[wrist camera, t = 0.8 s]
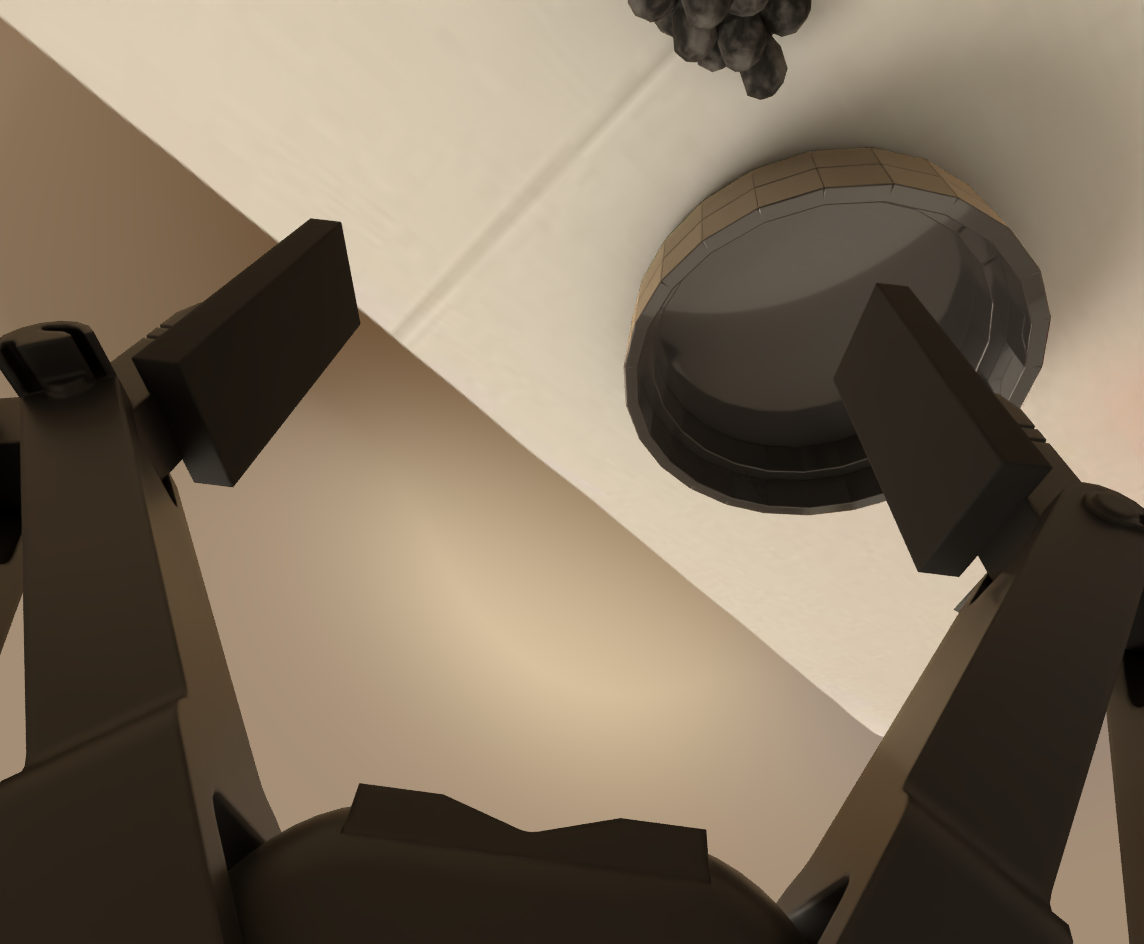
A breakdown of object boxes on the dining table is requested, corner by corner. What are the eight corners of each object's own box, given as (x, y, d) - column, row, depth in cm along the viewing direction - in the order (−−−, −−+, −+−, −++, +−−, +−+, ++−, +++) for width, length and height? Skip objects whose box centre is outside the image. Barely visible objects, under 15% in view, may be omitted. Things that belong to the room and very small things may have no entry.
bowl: (1080, 127, 27) (1148, 168, 23) (933, 461, 42) (959, 522, 38) (626, 160, 31) (614, 199, 27) (638, 452, 46) (631, 507, 42)
